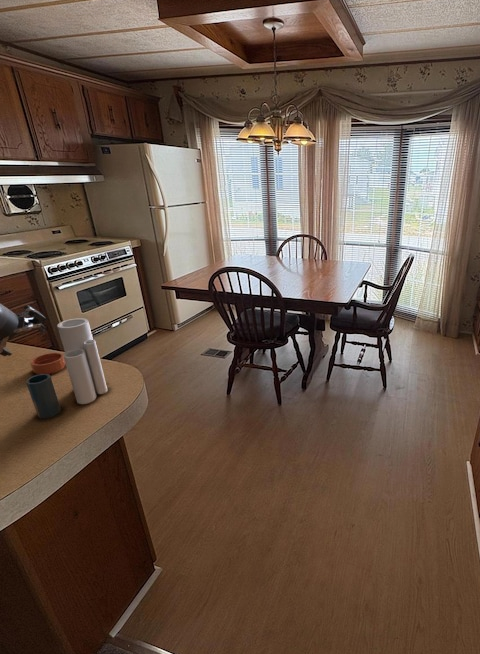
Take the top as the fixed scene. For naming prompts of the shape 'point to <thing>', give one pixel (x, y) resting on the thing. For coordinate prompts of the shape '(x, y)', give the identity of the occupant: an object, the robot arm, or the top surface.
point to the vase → (82, 360)
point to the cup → (43, 395)
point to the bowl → (48, 363)
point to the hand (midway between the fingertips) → (25, 341)
